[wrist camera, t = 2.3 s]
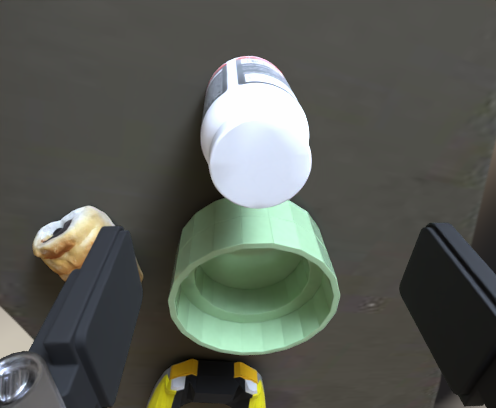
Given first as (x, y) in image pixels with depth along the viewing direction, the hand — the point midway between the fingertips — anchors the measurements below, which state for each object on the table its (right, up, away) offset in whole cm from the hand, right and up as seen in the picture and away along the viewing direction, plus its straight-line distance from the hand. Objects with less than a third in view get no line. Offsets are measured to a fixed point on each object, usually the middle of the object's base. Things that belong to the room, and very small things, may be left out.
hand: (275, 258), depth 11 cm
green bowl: (-1, -2, +20) cm, 20 cm away
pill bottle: (-1, +9, +12) cm, 16 cm away
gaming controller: (-6, -20, +33) cm, 39 cm away
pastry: (-14, -2, +19) cm, 24 cm away
